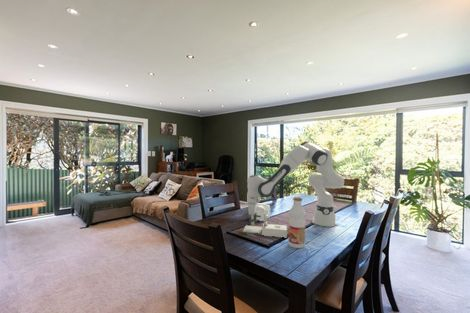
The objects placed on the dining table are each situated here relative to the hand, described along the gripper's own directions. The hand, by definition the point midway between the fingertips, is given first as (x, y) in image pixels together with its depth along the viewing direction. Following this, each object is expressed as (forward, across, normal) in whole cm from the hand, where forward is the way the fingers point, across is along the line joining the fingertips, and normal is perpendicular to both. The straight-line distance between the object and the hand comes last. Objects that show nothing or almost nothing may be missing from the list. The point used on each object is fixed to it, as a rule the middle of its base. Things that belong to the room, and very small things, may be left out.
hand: (253, 217), depth 155 cm
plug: (+5, 0, +2) cm, 5 cm away
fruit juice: (+9, +18, +28) cm, 35 cm away
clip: (+3, -1, +9) cm, 9 cm away
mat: (+9, 0, 0) cm, 9 cm away
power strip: (+9, +4, +15) cm, 18 cm away
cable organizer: (+9, -27, +2) cm, 29 cm away
